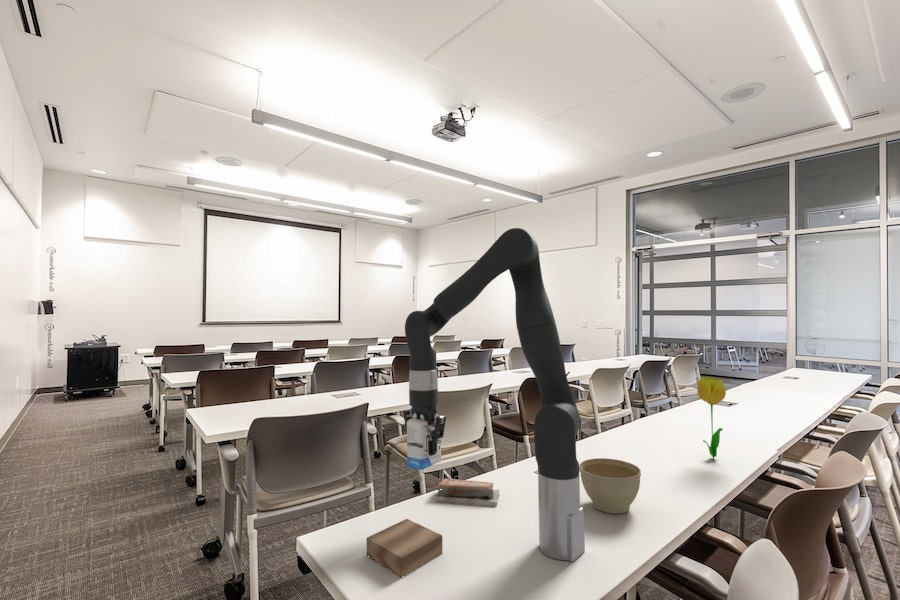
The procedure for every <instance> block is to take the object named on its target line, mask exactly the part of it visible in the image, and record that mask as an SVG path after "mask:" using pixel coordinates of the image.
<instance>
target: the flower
mask: <svg viewBox="0 0 900 600" xmlns="http://www.w3.org/2000/svg"><path fill="white" fill-rule="evenodd" d="M696 386H697V387H696V391H697V396H698V398H699V399H700V400H702V401H704V402H706V403H707V404H709V405H710V417H711V422H710V423H711V438H710V439H711V441H710V445H709V444H708V442H707V441H706V440H705V439H703V440H702V442H703V443H705V444H706V446H707V447H708V451H709V454H710V456H711V457H712V459H713V460H714V459H715V458H717V455H718V451H717V450H718V447H719V444H720V440H721V439H720V435H721V431H723V430H724V428H721V427H719V428H718V429H717V430H716V431H715V432H714V430H713V429H714V427H713V425H714V424H713V418H714V417H713V416H714V415H713V410H714V408H713V407H714V405H717V404H719V403H720V402H722V401H724V399H725V398H726V394H727V390H726V388H725V386H724V381H723V379H717V378H716V377H712V376H708V377H706V376H700V378H699V379H698V381H697V385H696ZM713 432H714V433H713Z"/></svg>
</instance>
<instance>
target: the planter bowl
mask: <svg viewBox="0 0 900 600" xmlns="http://www.w3.org/2000/svg"><path fill="white" fill-rule="evenodd" d="M579 473H580V479H581V480H580V481H581V482H582V486H583V489H584V490H585V493H586V494H587V496H588V498H589V499H590V500H591V501H592V506H593V507H594V509H596V510H598V511H601V512H603V513H607V514H625V513H627V512H628V511H629V510H630V507H631V505H632V504H633V502H634V501H635V499H636V497H637V495H638V494H639V490H640V485H641V476H642V470H641V468H640V467H639V466H638V465H635V464H633V463H631V462H627V461H624V460H620V459H615V458H604V457H602V458H601V457H599V458H598V457H597V458H589V459H584V460H583V461H581V462H580V463H579Z"/></svg>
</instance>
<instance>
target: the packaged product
mask: <svg viewBox="0 0 900 600" xmlns="http://www.w3.org/2000/svg"><path fill="white" fill-rule="evenodd" d="M440 489H442V490H440ZM438 490H439V491H438ZM499 498H500V489H494V483H493V482H489V481H479V480H466V479H455V478H441V481H440V482H439V483H438V485H437V494H436V496H435V501H434V502H436V503H442V504H443V503H445V504H457V505H466V504H467V506H479V505H482V506H481V507H497V506H498V502H499Z"/></svg>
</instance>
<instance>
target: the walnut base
mask: <svg viewBox="0 0 900 600" xmlns="http://www.w3.org/2000/svg"><path fill="white" fill-rule="evenodd" d="M441 555H443V535H442V534H441V533H439V532H436V531H434V530H432V529H430V528H427V526H426V527H425V526H423V525H422V524H419V523H418V522H415V521H413V520H410V519H408V518H405V519H404V520H400V521H399V522H397V523H394V524H393V525H391V526H388V527H386V528H384V529H382V530H380V531H378V532H376V533H374V534H372V535H369V536H367V537H366V557H367V556H369V557H370V558H372V559H374V560H375V561H376V562H375V561H374V560H373V561H374V562H375V563H377V562H378V563H377V564H378V565H380V564H381V565H380V566H382V565H383V566H384V568H385V567H386V568H385V569H387V568H388V569H389V570H388V569H387V570H388V571H390V570H391V571H392V572H391V571H390V572H391V573H393V572H394V574H395V573H396V574H397V575H396V574H395V575H396V576H398V575H399V576H401V577H403V576H405V575H406V576H408V575H410V574H411V573H413V572H414V571H416V570H418V569H419V568H421V567H422V565H423V566H424V565H426V564H428V563H430V562H431V561H432V560H434V559H436V558H437V557H439V556H441ZM369 557H368V558H369ZM370 558H369V559H370ZM372 559H371V560H372ZM427 562H428V563H427ZM383 566H382V567H383ZM417 568H418V569H417ZM415 569H416V570H415ZM412 571H413V572H412ZM409 573H410V574H409ZM407 574H408V575H407ZM399 576H398V577H399ZM406 576H405V577H406ZM401 577H400V578H401ZM403 578H404V577H403Z"/></svg>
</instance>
